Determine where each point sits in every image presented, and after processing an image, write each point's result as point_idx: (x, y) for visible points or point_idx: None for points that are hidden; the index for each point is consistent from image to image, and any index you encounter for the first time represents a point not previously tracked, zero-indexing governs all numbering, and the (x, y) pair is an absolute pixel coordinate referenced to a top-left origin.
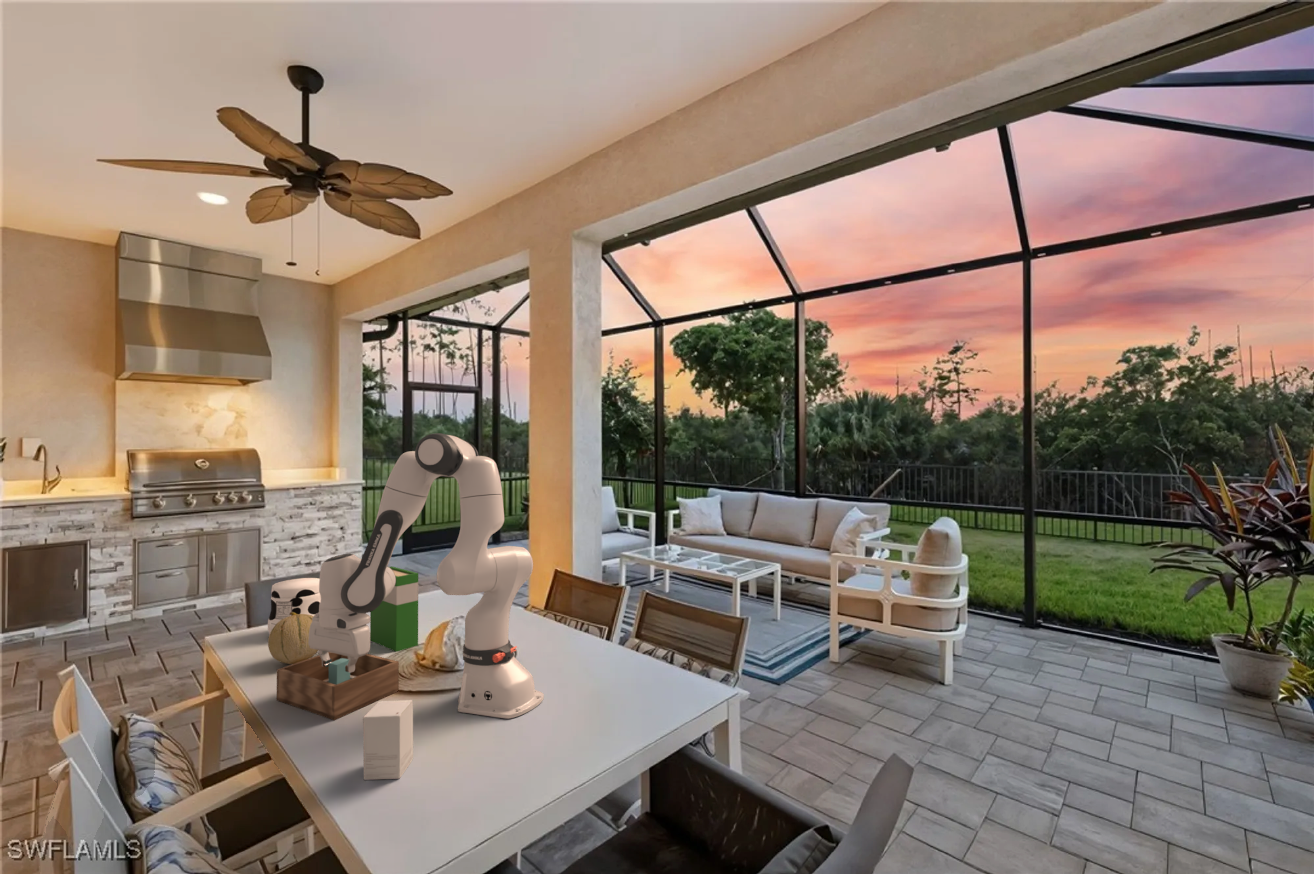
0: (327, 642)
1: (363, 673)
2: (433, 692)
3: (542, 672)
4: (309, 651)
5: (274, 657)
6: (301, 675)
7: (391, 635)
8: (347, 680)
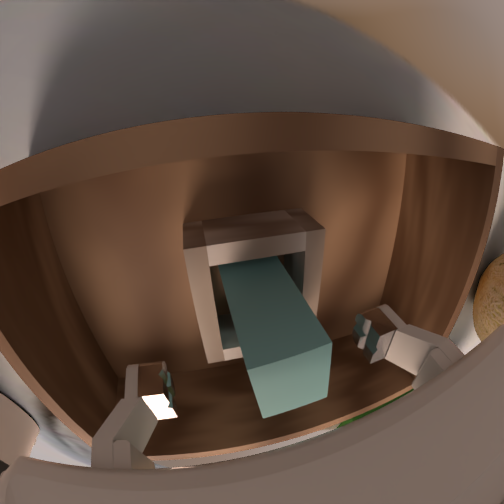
0: (421, 475)
1: None
2: None
3: (54, 460)
4: (484, 307)
5: None
6: (365, 135)
7: None
8: None
